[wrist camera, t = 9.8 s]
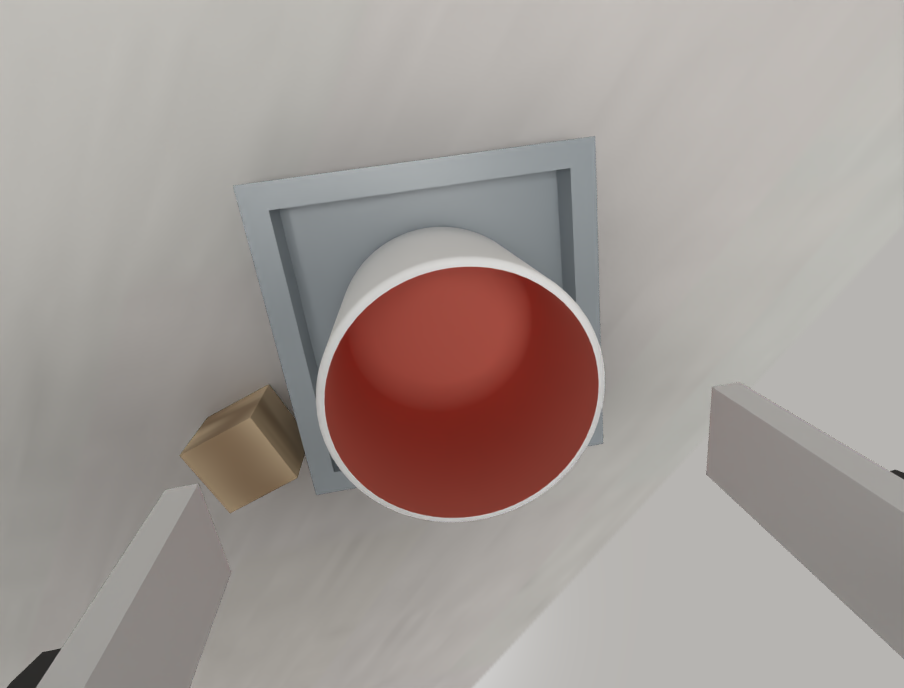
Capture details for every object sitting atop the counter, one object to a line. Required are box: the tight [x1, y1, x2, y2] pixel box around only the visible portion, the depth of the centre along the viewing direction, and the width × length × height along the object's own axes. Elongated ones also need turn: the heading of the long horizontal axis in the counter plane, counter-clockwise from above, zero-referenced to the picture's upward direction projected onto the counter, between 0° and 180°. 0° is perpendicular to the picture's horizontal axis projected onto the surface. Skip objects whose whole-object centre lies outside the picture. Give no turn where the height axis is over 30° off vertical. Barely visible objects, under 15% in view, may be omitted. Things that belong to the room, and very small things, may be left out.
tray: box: [233, 136, 603, 495], centre depth 26 cm, size 16×16×3 cm
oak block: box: [180, 385, 305, 513], centre depth 26 cm, size 4×4×4 cm
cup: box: [316, 227, 605, 522], centre depth 22 cm, size 10×10×10 cm
